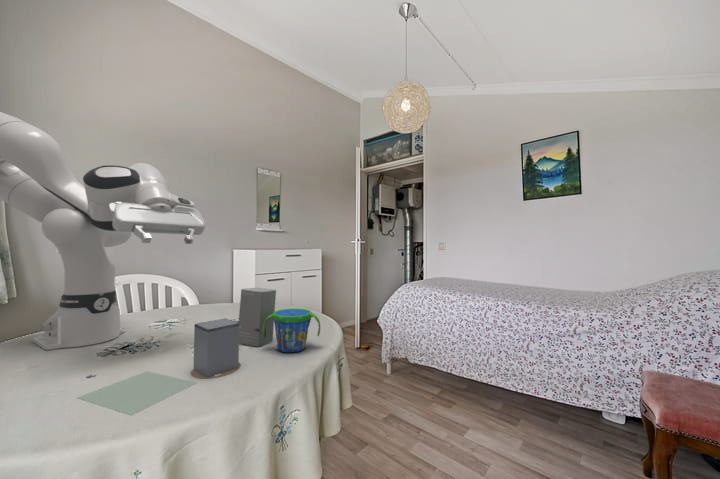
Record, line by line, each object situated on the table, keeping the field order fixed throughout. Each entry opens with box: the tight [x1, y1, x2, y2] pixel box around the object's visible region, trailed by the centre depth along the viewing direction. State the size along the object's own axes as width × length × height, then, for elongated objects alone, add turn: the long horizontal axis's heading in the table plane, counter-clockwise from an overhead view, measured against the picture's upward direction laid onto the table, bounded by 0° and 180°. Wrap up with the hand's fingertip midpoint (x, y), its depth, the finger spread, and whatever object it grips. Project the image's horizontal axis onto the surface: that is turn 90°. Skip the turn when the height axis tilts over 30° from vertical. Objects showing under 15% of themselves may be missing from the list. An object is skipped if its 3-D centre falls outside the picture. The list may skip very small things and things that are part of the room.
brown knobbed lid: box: [190, 362, 241, 380], centre depth 64 cm, size 10×10×4 cm
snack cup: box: [263, 308, 321, 353], centre depth 79 cm, size 16×10×10 cm
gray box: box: [193, 318, 240, 378], centre depth 64 cm, size 7×7×10 cm
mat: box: [76, 371, 197, 416], centre depth 54 cm, size 15×12×1 cm
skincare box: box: [238, 287, 277, 348], centre depth 85 cm, size 8×7×16 cm
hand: (169, 241), depth 72 cm, fingers open, 8 cm apart
